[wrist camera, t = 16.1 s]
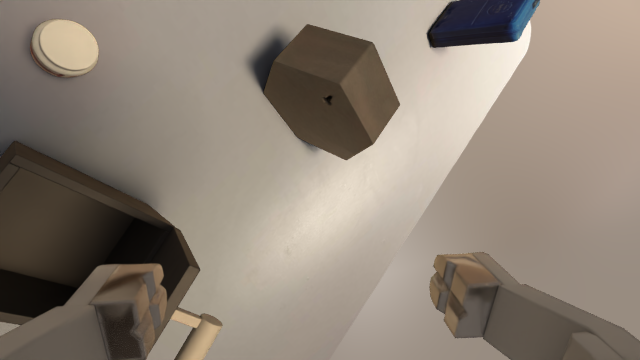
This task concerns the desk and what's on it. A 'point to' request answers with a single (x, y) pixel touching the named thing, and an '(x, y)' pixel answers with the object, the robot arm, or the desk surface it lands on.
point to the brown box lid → (177, 281)
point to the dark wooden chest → (63, 232)
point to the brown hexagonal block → (332, 91)
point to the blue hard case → (482, 22)
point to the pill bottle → (64, 48)
